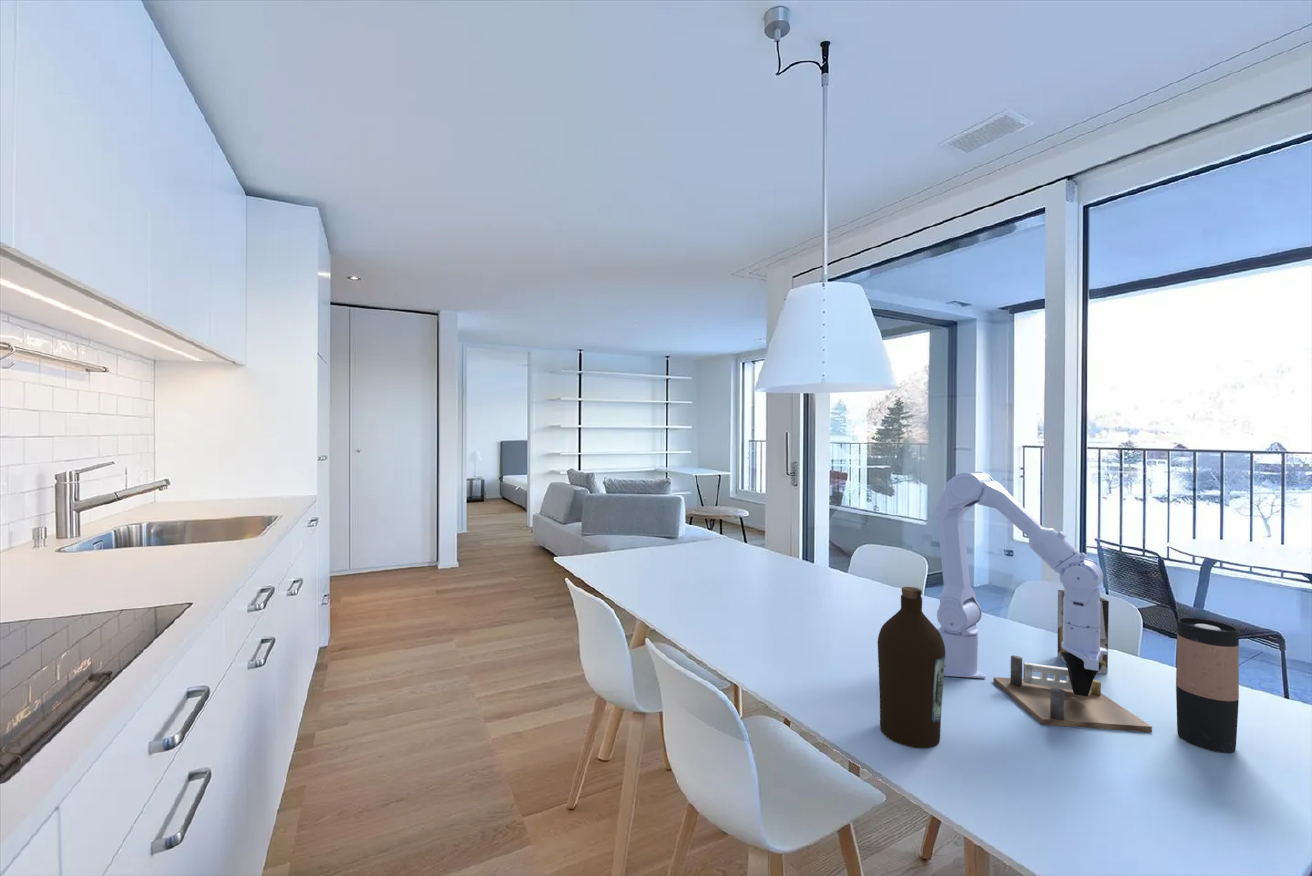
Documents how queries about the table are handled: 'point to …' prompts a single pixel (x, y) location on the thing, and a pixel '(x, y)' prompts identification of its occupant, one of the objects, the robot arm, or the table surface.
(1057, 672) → the gate
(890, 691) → the olive oil
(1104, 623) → the coffee box
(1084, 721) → the board
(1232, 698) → the travel mug
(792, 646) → the table surface
